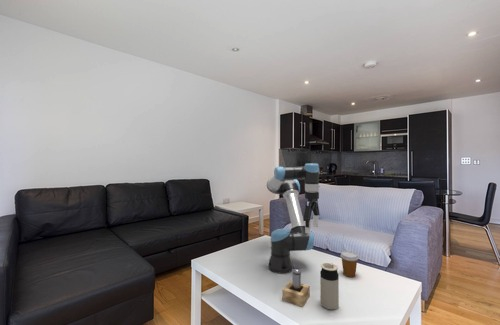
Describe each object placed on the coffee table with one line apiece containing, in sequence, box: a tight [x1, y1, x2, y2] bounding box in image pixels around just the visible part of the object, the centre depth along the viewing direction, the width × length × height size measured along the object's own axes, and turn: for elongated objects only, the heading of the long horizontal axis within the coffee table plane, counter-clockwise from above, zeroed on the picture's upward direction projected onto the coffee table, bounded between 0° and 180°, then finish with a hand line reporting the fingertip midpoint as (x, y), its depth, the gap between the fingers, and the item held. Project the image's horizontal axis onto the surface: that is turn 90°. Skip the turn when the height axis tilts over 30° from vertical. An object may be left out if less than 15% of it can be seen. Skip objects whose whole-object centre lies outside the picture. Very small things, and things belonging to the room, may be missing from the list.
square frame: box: [282, 280, 311, 308], centre depth 112 cm, size 10×10×5 cm
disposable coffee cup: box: [340, 251, 359, 278], centre depth 135 cm, size 10×10×12 cm
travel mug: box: [319, 262, 340, 310], centre depth 107 cm, size 8×8×18 cm
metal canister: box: [291, 267, 302, 292], centre depth 112 cm, size 4×4×14 cm
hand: (311, 229), depth 127 cm, fingers open, 13 cm apart
